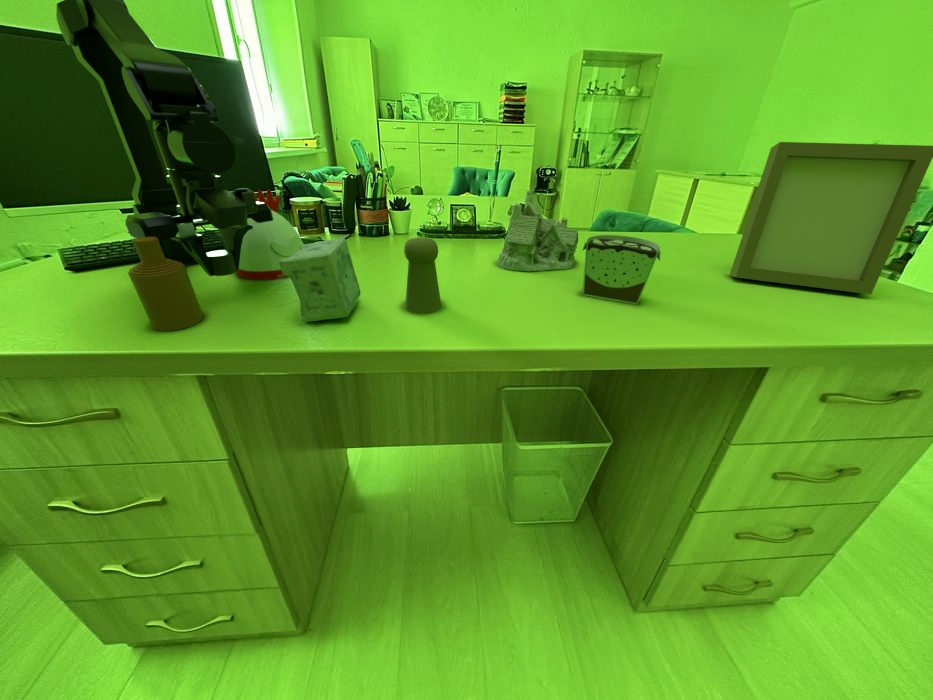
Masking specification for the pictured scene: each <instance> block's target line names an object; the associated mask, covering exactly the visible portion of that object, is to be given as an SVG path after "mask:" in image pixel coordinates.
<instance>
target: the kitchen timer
mask: <svg viewBox="0 0 933 700" xmlns="http://www.w3.org/2000/svg"><path fill="white" fill-rule="evenodd" d="M250 190H251V191H253V193H254V196H255V199H256V202H262V203H266V204H267V205H268V206H269V207H270V209H271V210H272V215H273V219H274V220H273V221H268V222H262V223H256V222H255V221H254V220H252V219H251V218H248V219H247V222H248V225H251V226H253V229H252V230H249V231H247V233H246V234H245V235H244V237H243V241H242V245H241V253H240V262H239V269H238V270H237V272H235V274H236V275H237V276H238V277H240V278H242V279H245V280H246V279H247V280H253V281H268V280H278V279H286V278H289V277H288V276H284V275H283V273H282V270H281V268H280V264H279V260H280V259H282V258H289V257H291V256H292V255H294V253H296V252H298V251H300V250H301V249H300V247H299V246H300V245H302V244H304V242H303V240H302V239H301V237H300V234H299V233H298V231H297V230H296V228H295V227H294V226H293V225H292V223H290V222H289V221H288V220H287V219H286V218H285V217H284V216H282V215H281V214H279V213H278V210H279V205H280V196H279V195H275V197H274V196H273V192H272V190H271V189H266V197H265V194H264V193H263V191H262V190H261V189H257V195H256V193H255V191H254V190H252V189H250Z"/></svg>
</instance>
